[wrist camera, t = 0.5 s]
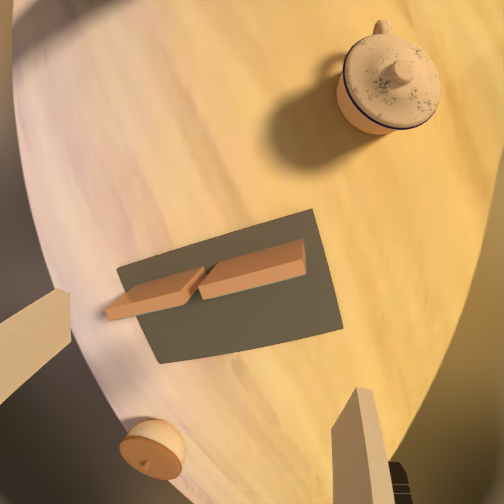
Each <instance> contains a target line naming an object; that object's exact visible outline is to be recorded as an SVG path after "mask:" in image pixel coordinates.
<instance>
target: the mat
mask: <svg viewBox="0 0 504 504" xmlns="http://www.w3.org/2000/svg"><path fill="white" fill-rule="evenodd" d="M299 239H302V240H303V243H304V247H305V250H306V274H304V275H302V276H299V277H295V278H292V279H288V280H284V281H280V282H276V283H272V284H268V285H264V286H260V287H256V288H253V289H249V290H244V291H240V292H236V293H232V294H228V295H224V296H220V297H216V298H212V299H205V300H203V298H202V296H201V293H200V291H199V288H198V289H197V290H196V291H195V293H194V294H193V295H192V296H191V297H190V299H189V300H188V301H187V302H186V303H185V304H184V305H182V306H178V307H173V308H169V309H165V310H160V311H156V312H151V313H147V314H142V315H138V316H137V317H138V319H139V321H140V324H141V326H142V328H143V330H144V332H145V334H146V336H147V339H148V341H149V343H150V345H151V347H152V349H153V351H154V353H155V355H156V357H157V359H158V361H159V363H160V364H164V363H171V362H178V361H185V360H192V359H199V358H205V357H211V356H217V355H223V354H229V353H234V352H240V351H245V350H250V349H255V348H261V347H266V346H270V345H275V344H280V343H285V342H289V341H294V340H298V339H303V338H307V337H311V336H315V335H320V334H324V333H328V332H332V331H336V330H340V329H343V324H342V319H341V315H340V311H339V307H338V302H337V298H336V294H335V290H334V286H333V282H332V278H331V275H330V271H329V267H328V263H327V259H326V256H325V252H324V248H323V245H322V241H321V237H320V234H319V230H318V227H317V223H316V220H315V216H314V213H313V209H309V210H306V211H302V212H299V213H295V214H292V215H288V216H285V217H282V218H278V219H275V220H271V221H268V222H264V223H261V224H258V225H254V226H251V227H248V228H244V229H241V230H238V231H234V232H231V233H228V234H224V235H221V236H218V237H214V238H211V239H208V240H205V241H201V242H198V243H195V244H192V245H188V246H185V247H182V248H179V249H175V250H172V251H169V252H166V253H163V254H160V255H156V256H153V257H150V258H147V259H144V260H141V261H138V262H134V263H131V264H128V265H125V266H122V267H119V268H117V270H118V272H119V275H120V277H121V280H122V282H123V285H124V287H125V290H126V292H128V291H129V290H130V289H132V288H133V287H134V286H135V285H137V284H141V283H145V282H148V281H152V280H155V279H159V278H163V277H166V276H170V275H173V274H177V273H181V272H184V271H188V270H191V269H195V268H198V267H202V266H204V269H205V272H206V274H207V275H208V274H209V273H210V272H211V270H212V269H213V268H214V267H215V266H216V264H217V263H218V262H220V261H224V260H227V259H231V258H234V257H238V256H241V255H245V254H249V253H252V252H256V251H259V250H263V249H266V248H270V247H274V246H277V245H281V244H284V243H288V242H292V241H295V240H299Z"/></svg>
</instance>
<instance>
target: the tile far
mask: <svg viewBox="0 0 504 504" xmlns="http://www.w3.org/2000/svg"><path fill="white" fill-rule="evenodd" d="M206 276H207V274H206V272H205V269H204V266H202V267H198V268H195V269H191V270H188V271H184V272H181V273H177V274H173V275H170V276H166V277H163V278H159V279H155V280H152V281H148V282H145V283H141V284H137V285H135V286H134V287H133V288H132V289H130V290H129V291H128V292H126V293H125V294H124V295H123V296H121V297H120V298H119V299H117V300H116V301H115V302H114V303H112V304H111V305H110V306H109V307H107V308H106V309H105V312H106V314H107V316H108V319H109V321H112V320H119V319H124V318H128V317H133V316H138V315H142V314H147V313H151V312H156V311H160V310H165V309H169V308H173V307H178V306H182V305H184V304H185V303H186V302H187V301H188V300H189V299H190V297H191V296H192V295H193V294H194V293H195V291H196V290H197V289H198V286H199V285H200V284H201V282H202V281H203V280H204V279H205V278H206Z"/></svg>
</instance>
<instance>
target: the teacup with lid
mask: <svg viewBox="0 0 504 504" xmlns="http://www.w3.org/2000/svg"><path fill="white" fill-rule="evenodd" d="M440 92H441V89H440V80H439V76H438V73H437V71H436V68H435V66H434V64H433V63H432V61H431V60H430V58H429V57H428V56H427V54H426V53H425V52H424V51H423V50H422V49H421V48H419V47H418V46H417V45H415V44H414V43H412V42H411V41H409V40H407V39H405V38H402V37H400V36H396V35H393V33H392V28H391V25H390V24H389V22H387V21H384V20H378V21H377V22H376V24H375V26H374V30H373V35H371V36H368V37H365V38H363V39H361V40H360V41H358V42H357V43H356V44H354V45H353V46H352V48H351V49H350V50H349V52H348V53H347V55H346V58H345V60H344V64H343V72H342V74H341V76H340V79H339V81H338V84H337V89H336V97H337V102H338V105H339V108H340V110H341V112H342V114H343V115H344V117H345V118H346V119H347V120H348V121H349V122H350V123H351V124H352V125H353V126H354V127H356V128H357V129H359V130H361V131H363V132H366V133H370V134H375V135H382V134H388V133H391V132H394V131H397V130H406V129H412V128H415V127H418V126H420V125H422V124H423V123H425V122H426V121H427V120H428V119H429V118H430V117H431V116H432V115H433V114H434V112H435V110H436V108H437V106H438V103H439V99H440Z"/></svg>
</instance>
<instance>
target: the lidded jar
mask: <svg viewBox="0 0 504 504" xmlns="http://www.w3.org/2000/svg"><path fill="white" fill-rule="evenodd" d="M119 448H120V452H121V454H122V456H123V458H124V459H125V460H126V461H127V462H128V463H129V464H130V465H131V466H132V467H134V468H135V469H136V470H138V471H140V472H142V473H143V474H145V475H148V476H150V477H153V478H157V479H163V480H170V479H175V478H177V477H178V476H179V475H180V473H181V470H182V466H183V463H184V460H185V455H186V446H185V442H184V439H183V437H182V436H181V434H180V431H179V430H178V429H177V428H176V427H175V426H174V425H173V424H171V423H169V422H167V421H165V420H161V419H154V420H146V421H143V422H141V423H139V424H137V425H135V426H134V427H133V428H132V429H131V430H130V431H129V432H128V434H127V435H126V437H125V438H124V439H123V440H122V442H121V443H120V447H119Z"/></svg>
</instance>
